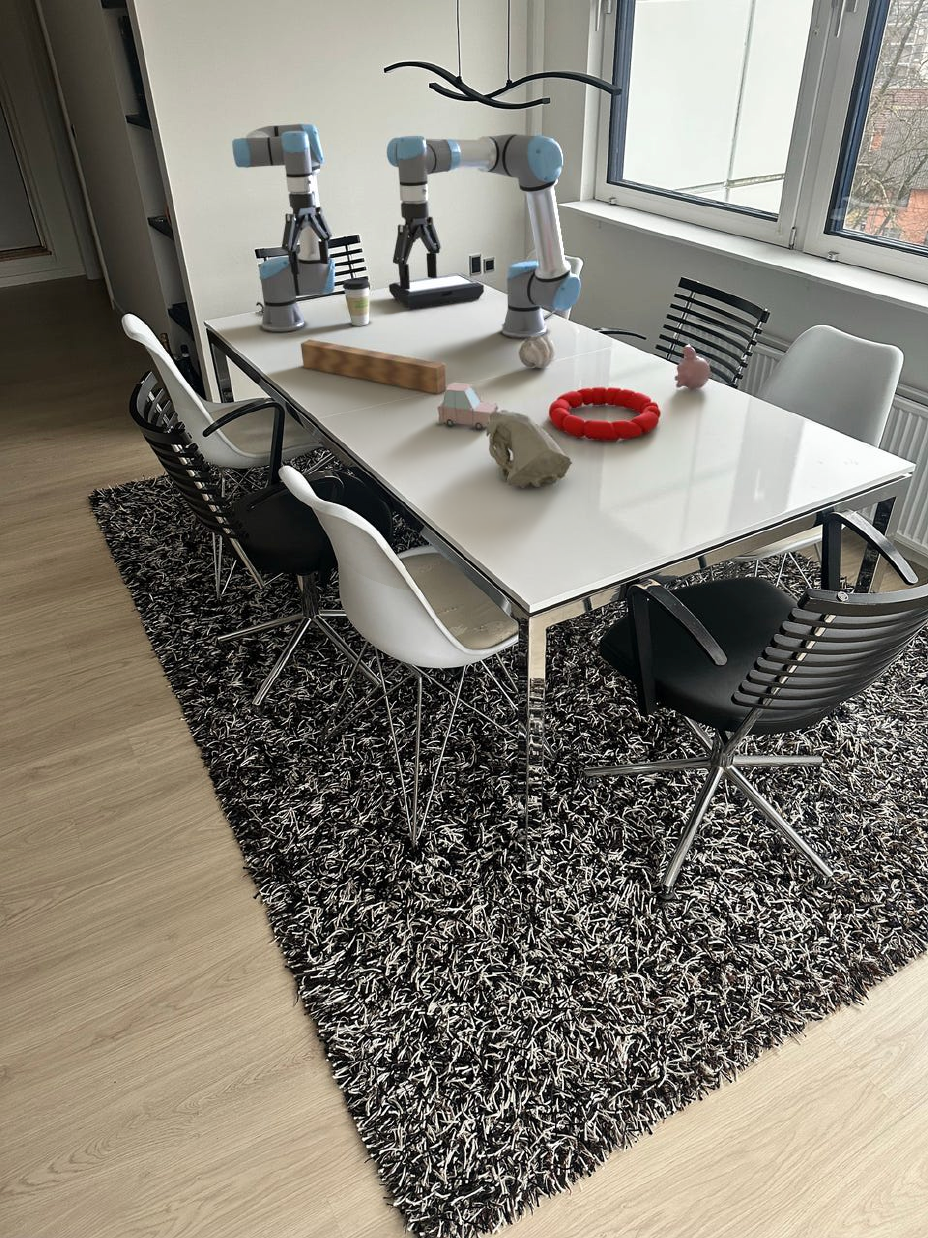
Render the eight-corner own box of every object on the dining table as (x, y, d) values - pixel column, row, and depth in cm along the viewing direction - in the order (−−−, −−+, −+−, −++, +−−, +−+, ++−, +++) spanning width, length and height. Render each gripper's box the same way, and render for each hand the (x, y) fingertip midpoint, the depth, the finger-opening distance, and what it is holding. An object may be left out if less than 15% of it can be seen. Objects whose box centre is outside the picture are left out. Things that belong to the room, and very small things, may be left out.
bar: (303, 367, 289) (300, 343, 284) (312, 362, 292) (309, 339, 287) (437, 393, 265) (436, 368, 261) (445, 388, 269) (444, 363, 264)
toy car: (488, 432, 240) (488, 396, 234) (436, 426, 244) (434, 390, 239) (499, 419, 247) (499, 384, 241) (448, 413, 252) (447, 379, 246)
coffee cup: (372, 326, 323) (368, 283, 314) (345, 327, 323) (340, 284, 315) (374, 318, 331) (371, 276, 322) (348, 319, 331) (344, 277, 323)
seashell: (509, 366, 283) (509, 335, 277) (548, 358, 288) (549, 327, 283) (526, 376, 275) (526, 344, 269) (566, 367, 281) (567, 335, 275)
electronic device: (407, 294, 335) (388, 282, 350) (408, 310, 338) (389, 298, 353) (483, 282, 345) (462, 272, 360) (483, 299, 348) (463, 287, 364)
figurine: (665, 387, 264) (669, 347, 257) (693, 380, 268) (698, 340, 261) (686, 396, 257) (690, 355, 250) (714, 388, 262) (720, 348, 255)
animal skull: (496, 517, 219) (521, 479, 201) (463, 429, 225) (484, 384, 207) (557, 503, 225) (586, 465, 206) (523, 417, 231) (549, 373, 212)
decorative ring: (589, 435, 224) (684, 402, 234) (527, 398, 247) (617, 369, 256) (589, 461, 229) (683, 427, 238) (529, 422, 251) (617, 393, 260)
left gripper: (282, 199, 248) (292, 279, 260) (338, 185, 265) (345, 260, 277) (262, 198, 251) (273, 276, 263) (318, 184, 268) (327, 258, 280)
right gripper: (399, 210, 230) (404, 295, 242) (451, 194, 247) (453, 274, 259) (375, 208, 233) (382, 291, 245) (428, 192, 250) (432, 271, 263)
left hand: (310, 268), depth 270 cm, fingers open, 13 cm apart
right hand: (419, 282), depth 252 cm, fingers open, 13 cm apart
